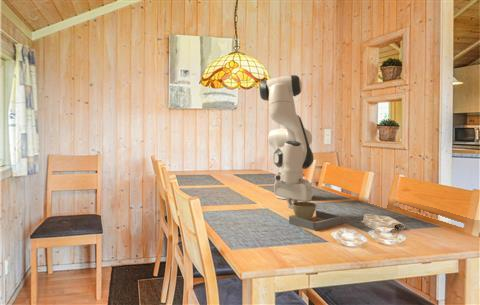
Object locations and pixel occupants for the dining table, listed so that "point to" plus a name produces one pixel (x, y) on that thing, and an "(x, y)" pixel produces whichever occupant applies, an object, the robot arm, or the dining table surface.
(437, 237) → the dining table surface
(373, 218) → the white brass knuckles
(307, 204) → the flower pot
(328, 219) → the frame
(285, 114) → the robot arm
